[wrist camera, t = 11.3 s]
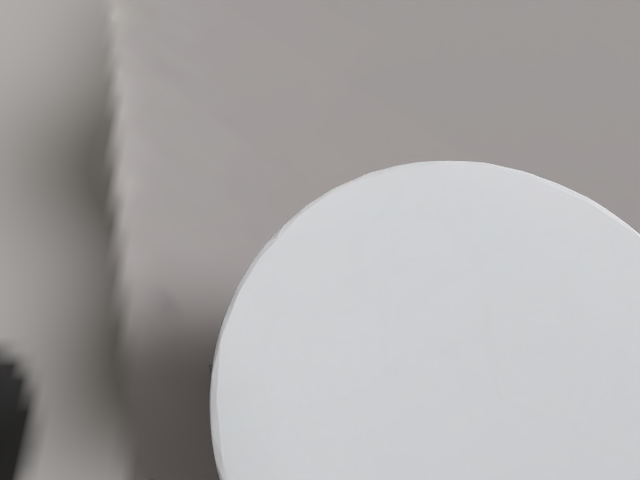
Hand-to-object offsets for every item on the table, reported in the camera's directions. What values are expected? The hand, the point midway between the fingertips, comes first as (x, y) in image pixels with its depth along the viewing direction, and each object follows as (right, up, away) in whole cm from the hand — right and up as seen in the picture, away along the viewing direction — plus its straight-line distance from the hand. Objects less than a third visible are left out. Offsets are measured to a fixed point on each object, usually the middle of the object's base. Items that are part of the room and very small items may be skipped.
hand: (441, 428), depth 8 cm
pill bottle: (+1, -3, +7) cm, 8 cm away
